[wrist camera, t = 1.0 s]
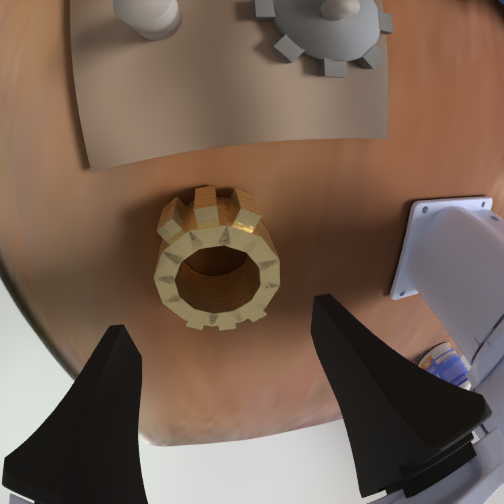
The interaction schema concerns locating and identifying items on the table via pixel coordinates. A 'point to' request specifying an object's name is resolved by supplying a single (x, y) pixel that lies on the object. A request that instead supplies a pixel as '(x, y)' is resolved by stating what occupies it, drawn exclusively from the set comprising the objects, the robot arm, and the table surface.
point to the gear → (211, 235)
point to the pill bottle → (446, 365)
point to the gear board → (225, 73)
